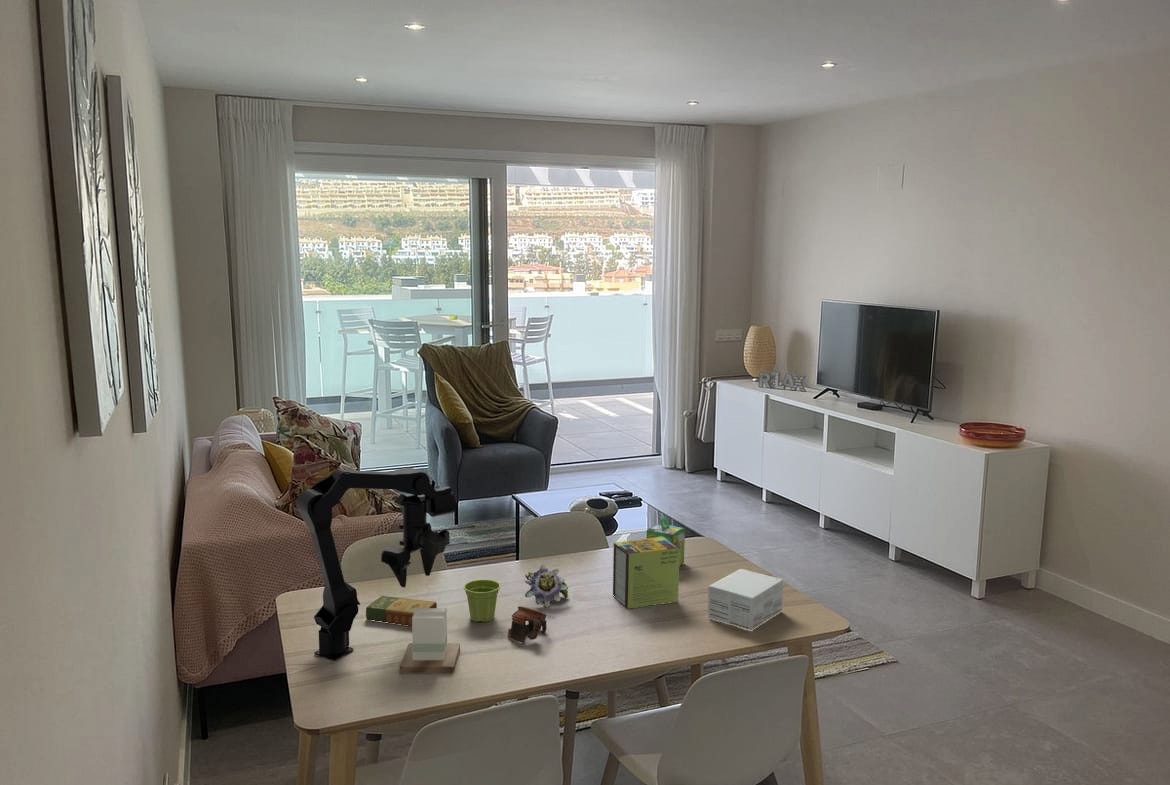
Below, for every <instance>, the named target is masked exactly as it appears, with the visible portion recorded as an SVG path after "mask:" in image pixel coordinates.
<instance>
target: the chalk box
mask: <svg viewBox="0 0 1170 785" xmlns="http://www.w3.org/2000/svg"><path fill="white" fill-rule="evenodd" d="M659 520H660V523H658V524H655V525H653V526H652V527H649V528H648V529H646V539H648V538H656V537H664V538H665V539H667V540H668V541H670V542H672V543H673V544H675V545H676V546H678V547H679V548H680V552H679V567H681V566H682V565H684V564H685V543H686V540H685V539H686V538H685V537H686V528H685V527H680V526H676V525H673V524H669V520H668V516H667V515H666V516H663V517H662V518H661V519H659ZM664 522H665V524H664ZM683 563H684V564H683ZM681 564H682V565H681ZM680 565H681V566H680Z"/></svg>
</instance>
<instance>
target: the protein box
mask: <svg viewBox="0 0 1170 785" xmlns="http://www.w3.org/2000/svg"><path fill="white" fill-rule="evenodd" d="M679 552H680V548H679V547H678V546H676V545H675V544H673V543H672V542H670V541H668V540H667V539H665V538H664V537H656V538H648V539H647V538H641V539H634V540H623V541H617V542H613V565H612V568H613V569H612V571H613V572H612V574H613V577H612V596H613V595H614V596H615V597H616V598H617V599H618V600H619V601H620V602H621V603H622V604H623V607H624V608H626V609H627V610H631V609H630V608H633V609H636V608H635V607H640V608H643V607H642V606H647V607H649V606H648V605H654V604H661V605H663V604H662V603H668V604H670V603H669V602H675V603H677V602H676V601H678V602H679V585H680V584H679V580H680V566H679ZM614 596H613V597H614ZM615 597H614V598H615ZM616 598H615V599H616ZM617 599H616V600H617ZM618 600H617V601H618ZM619 601H618V602H619ZM620 602H619V603H620ZM621 603H620V604H621ZM622 604H621V605H622ZM654 606H655V605H654Z"/></svg>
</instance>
